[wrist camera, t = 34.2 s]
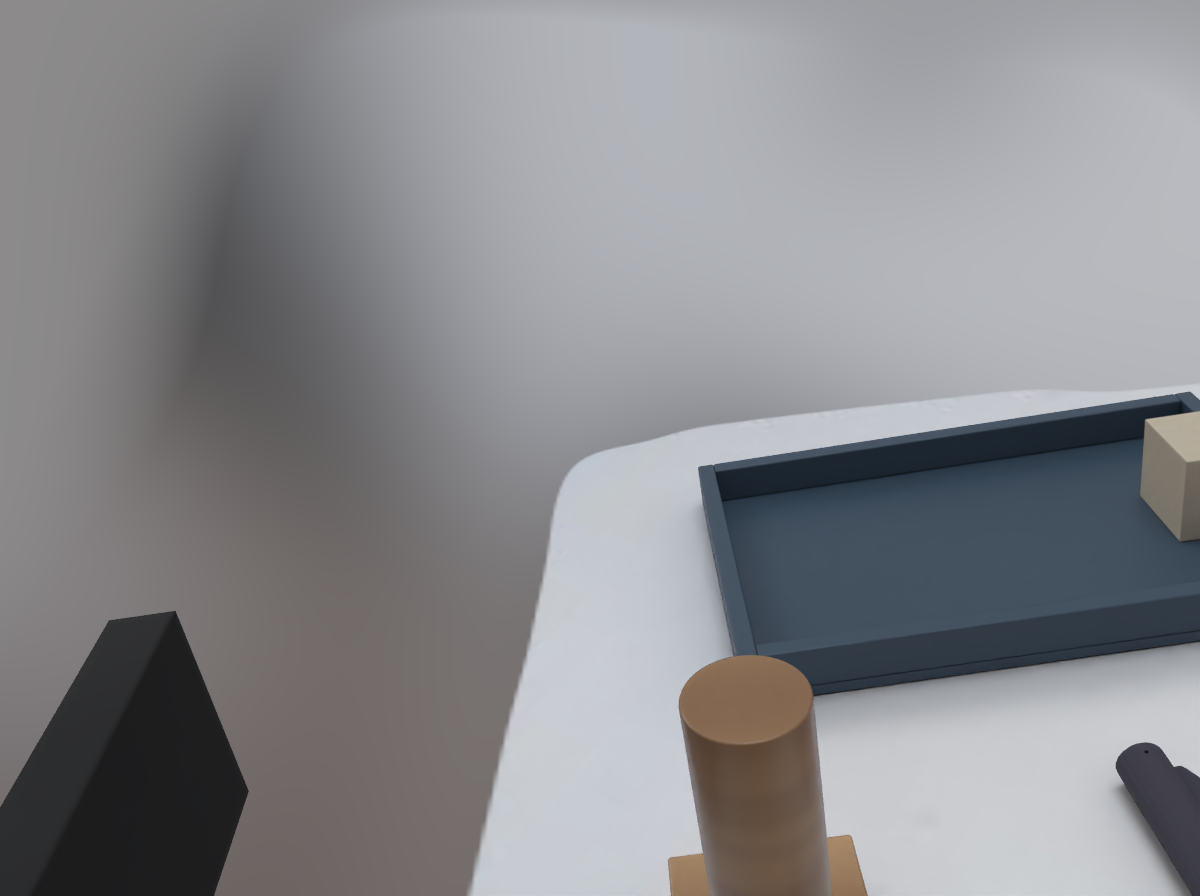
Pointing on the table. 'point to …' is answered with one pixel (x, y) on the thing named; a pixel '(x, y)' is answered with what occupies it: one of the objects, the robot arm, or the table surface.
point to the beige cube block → (1173, 472)
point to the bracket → (1166, 805)
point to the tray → (952, 549)
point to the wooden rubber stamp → (758, 787)
